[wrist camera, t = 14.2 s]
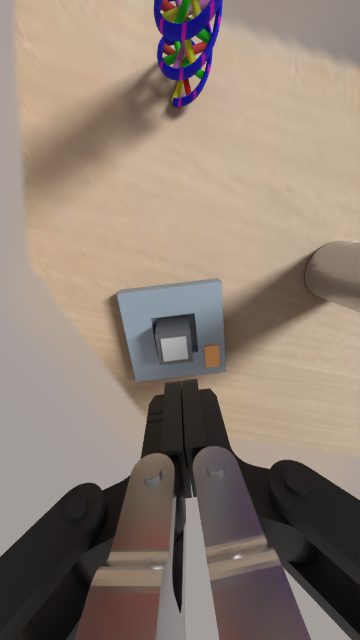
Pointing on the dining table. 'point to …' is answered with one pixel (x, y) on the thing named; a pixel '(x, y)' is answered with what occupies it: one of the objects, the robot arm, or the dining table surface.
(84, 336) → the dining table surface
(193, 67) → the dna model
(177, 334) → the plug
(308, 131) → the dining table surface
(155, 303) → the socket plate
